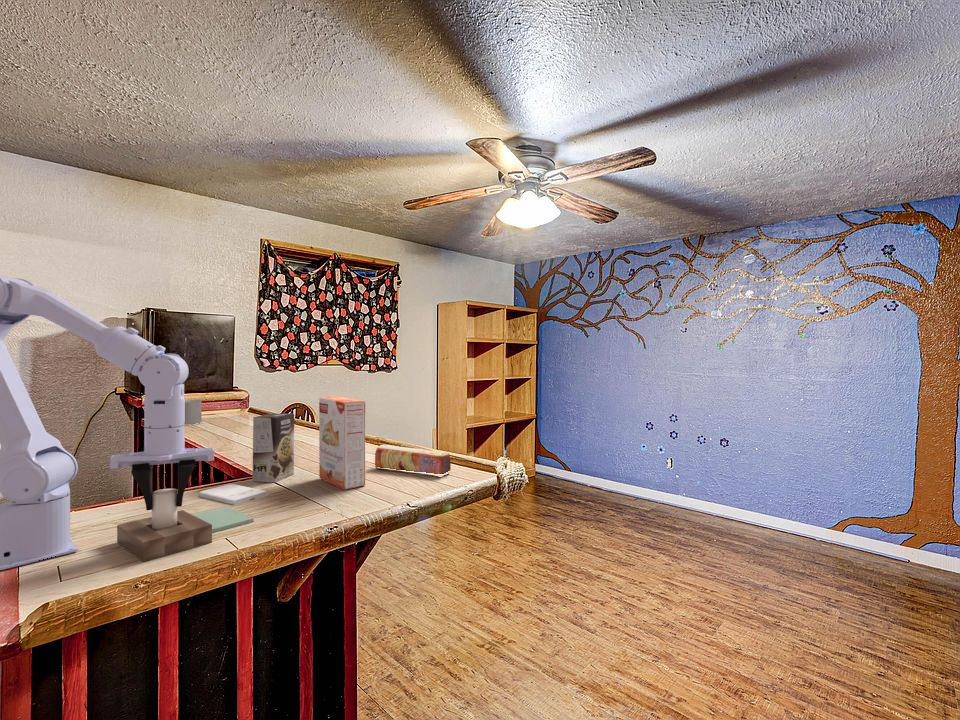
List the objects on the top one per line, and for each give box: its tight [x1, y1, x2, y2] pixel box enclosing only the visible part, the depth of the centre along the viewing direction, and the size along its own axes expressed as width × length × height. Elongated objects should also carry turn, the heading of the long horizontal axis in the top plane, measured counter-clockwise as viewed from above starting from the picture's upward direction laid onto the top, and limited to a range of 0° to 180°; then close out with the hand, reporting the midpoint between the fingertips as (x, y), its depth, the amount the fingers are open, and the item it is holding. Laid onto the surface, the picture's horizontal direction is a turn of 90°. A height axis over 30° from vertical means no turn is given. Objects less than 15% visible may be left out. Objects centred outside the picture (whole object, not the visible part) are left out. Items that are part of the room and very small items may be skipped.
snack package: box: [374, 444, 452, 474], centre depth 133 cm, size 21×7×7 cm, turn 66°
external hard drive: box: [198, 483, 269, 506], centre depth 109 cm, size 2×8×12 cm
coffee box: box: [251, 413, 295, 484], centre depth 125 cm, size 9×6×16 cm
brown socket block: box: [116, 509, 213, 563], centre depth 82 cm, size 10×12×3 cm
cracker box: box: [318, 395, 366, 491], centre depth 121 cm, size 14×6×21 cm, turn 42°
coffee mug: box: [185, 399, 202, 425], centre depth 214 cm, size 13×10×10 cm
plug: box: [151, 488, 178, 531], centre depth 82 cm, size 4×4×7 cm
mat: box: [192, 506, 255, 534], centre depth 93 cm, size 9×11×1 cm
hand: (164, 506), depth 82 cm, fingers closed on plug, 4 cm apart
